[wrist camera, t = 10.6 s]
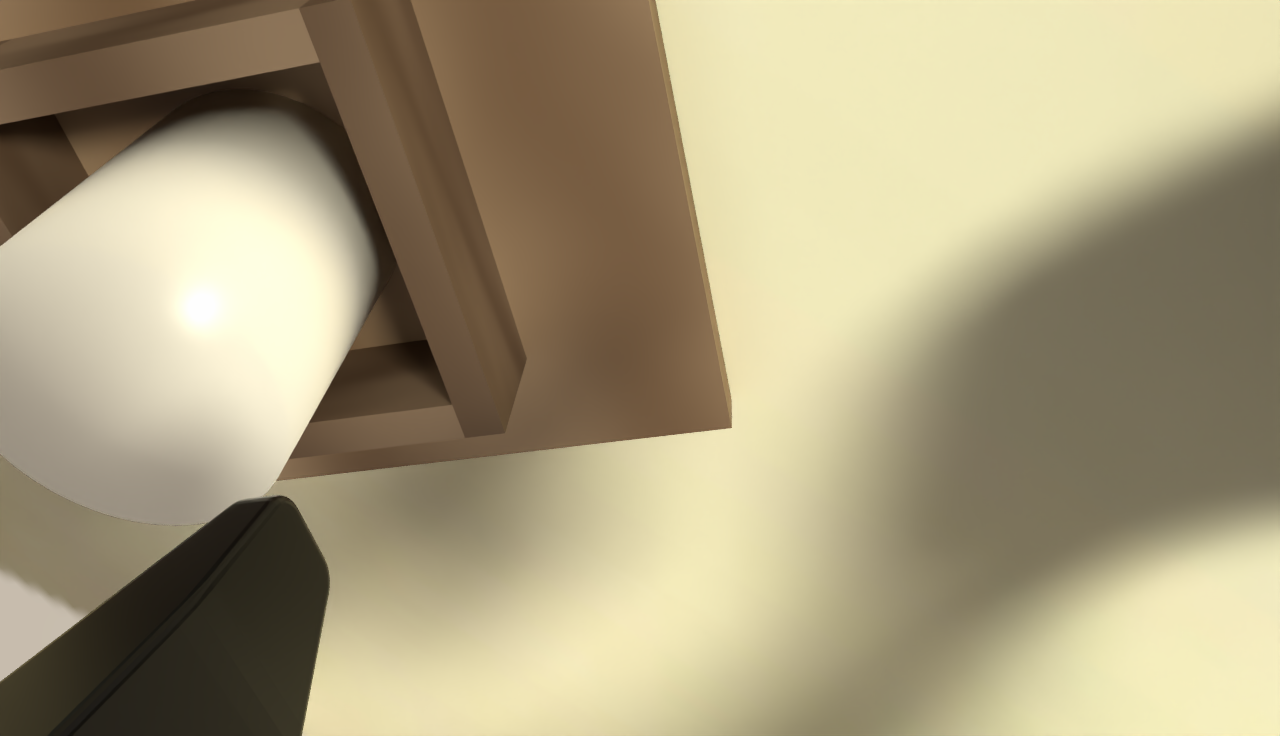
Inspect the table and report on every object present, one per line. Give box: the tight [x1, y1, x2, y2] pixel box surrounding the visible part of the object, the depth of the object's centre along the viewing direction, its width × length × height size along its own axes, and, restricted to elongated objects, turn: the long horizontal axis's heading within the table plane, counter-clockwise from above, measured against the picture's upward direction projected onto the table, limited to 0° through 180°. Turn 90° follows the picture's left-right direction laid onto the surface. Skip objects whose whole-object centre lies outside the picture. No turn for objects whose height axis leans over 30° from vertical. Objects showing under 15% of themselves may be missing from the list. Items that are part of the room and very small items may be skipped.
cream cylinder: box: [0, 89, 396, 526], centre depth 17 cm, size 5×5×6 cm
